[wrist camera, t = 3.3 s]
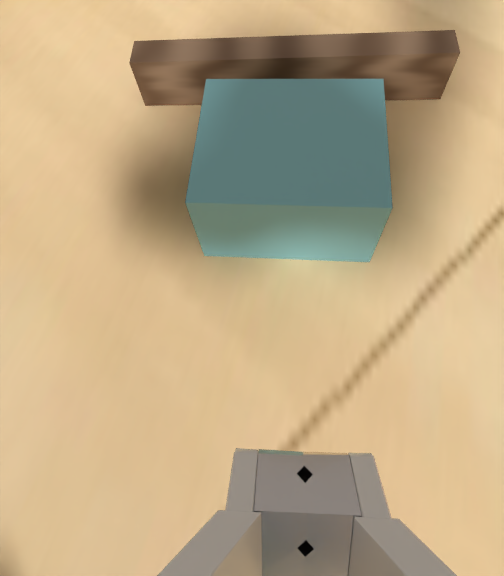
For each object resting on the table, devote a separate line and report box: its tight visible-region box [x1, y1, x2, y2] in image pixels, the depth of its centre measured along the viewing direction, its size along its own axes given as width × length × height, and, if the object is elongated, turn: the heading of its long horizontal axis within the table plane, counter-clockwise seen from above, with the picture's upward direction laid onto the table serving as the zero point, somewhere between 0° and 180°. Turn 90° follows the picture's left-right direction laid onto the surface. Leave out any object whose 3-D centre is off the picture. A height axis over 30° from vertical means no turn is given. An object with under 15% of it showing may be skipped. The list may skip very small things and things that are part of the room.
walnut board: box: [130, 30, 460, 106], centre depth 40 cm, size 30×3×5 cm, turn 88°
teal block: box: [185, 79, 392, 262], centre depth 34 cm, size 14×12×8 cm
